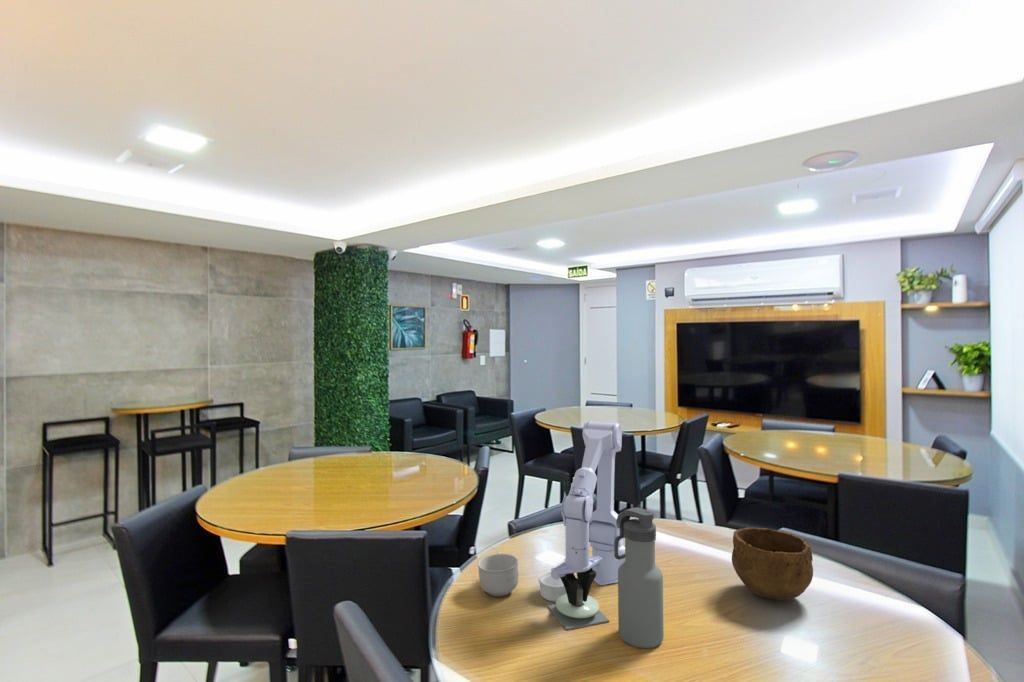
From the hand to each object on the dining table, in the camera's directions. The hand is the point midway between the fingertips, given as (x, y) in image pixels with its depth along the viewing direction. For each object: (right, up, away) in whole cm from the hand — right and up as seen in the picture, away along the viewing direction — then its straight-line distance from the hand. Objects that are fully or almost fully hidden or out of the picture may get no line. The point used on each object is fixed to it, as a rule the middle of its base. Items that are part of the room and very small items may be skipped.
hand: (577, 601), depth 120 cm
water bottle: (+13, -3, -10) cm, 16 cm away
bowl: (+52, -3, +9) cm, 53 cm away
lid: (0, -1, 0) cm, 1 cm away
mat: (0, -3, 0) cm, 3 cm away
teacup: (-19, -4, +13) cm, 24 cm away
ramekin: (-5, -4, +10) cm, 11 cm away
